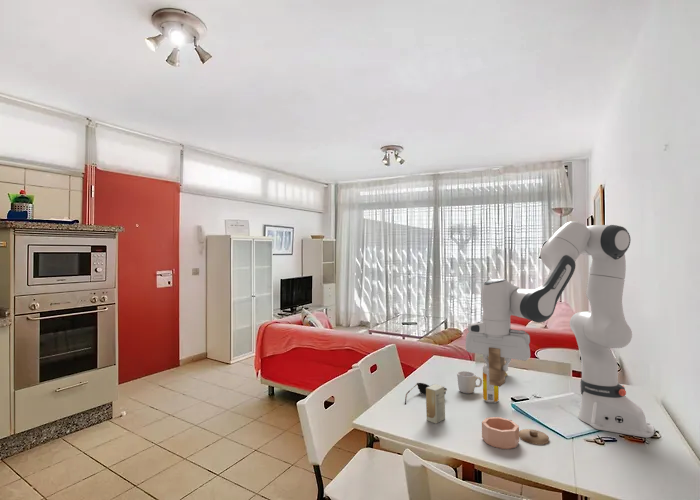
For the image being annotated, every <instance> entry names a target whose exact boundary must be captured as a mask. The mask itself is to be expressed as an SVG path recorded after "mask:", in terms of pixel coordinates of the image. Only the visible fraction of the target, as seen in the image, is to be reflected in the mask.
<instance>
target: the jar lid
mask: <svg viewBox="0 0 700 500" xmlns="http://www.w3.org/2000/svg"><path fill="white" fill-rule="evenodd" d="M549 438H550V437H549V435H548V434H546V433H544V432H543V431H540V430H537V429H532V428H530V429H529V428H525V429H523V428H522V429H521V430H520V429H519V439H520V440H522V441H524V442H526V443H529V444H533V445H546V444H548V443H549V442H550V439H549Z"/></svg>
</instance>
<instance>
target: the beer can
mask: <svg viewBox="0 0 700 500" xmlns="http://www.w3.org/2000/svg"><path fill="white" fill-rule="evenodd" d="M499 397H500V396H499V386H494V385H489V368H487V365H486V362H485V363H483V365H482V398H483V401H485V403H489V404H497V403H498V401H499Z"/></svg>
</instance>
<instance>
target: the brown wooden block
mask: <svg viewBox="0 0 700 500" xmlns="http://www.w3.org/2000/svg"><path fill="white" fill-rule="evenodd" d="M505 363H506V361H505V358H503V357H500V349H497V348H490V347H489V385H494V386H498V388H500V387H502V386H503V385H504V384H505V383H506V376H505V371H502V365H503V364H504V365H505Z"/></svg>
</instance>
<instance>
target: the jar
mask: <svg viewBox="0 0 700 500" xmlns="http://www.w3.org/2000/svg"><path fill="white" fill-rule="evenodd" d="M519 431H520V426H519V424H517V423H516V422H515V421H513V420H512V419H510V418H509V419H507V418H504V417H500V416H495V417H493V416H492V417H485V418H484V420H482V422H481V438H482V439H483V440H482V441H484V443H486V444H487V445H489V446H490V447H494V448H497V449H499V450H500V449H501V450H511V449H516V448H517V447H518V446H519V442H520V437H519Z"/></svg>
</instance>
